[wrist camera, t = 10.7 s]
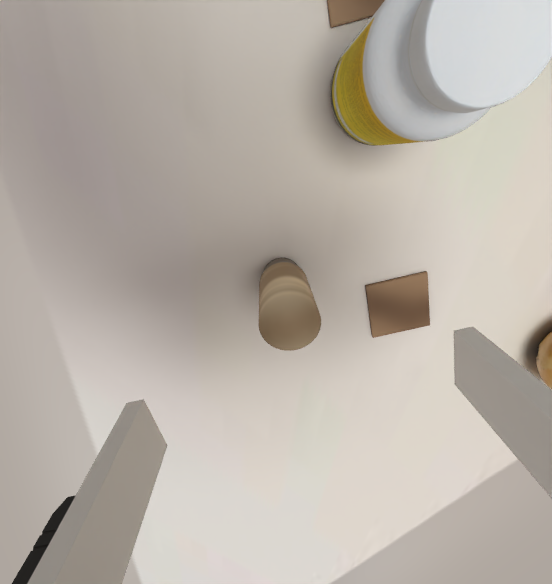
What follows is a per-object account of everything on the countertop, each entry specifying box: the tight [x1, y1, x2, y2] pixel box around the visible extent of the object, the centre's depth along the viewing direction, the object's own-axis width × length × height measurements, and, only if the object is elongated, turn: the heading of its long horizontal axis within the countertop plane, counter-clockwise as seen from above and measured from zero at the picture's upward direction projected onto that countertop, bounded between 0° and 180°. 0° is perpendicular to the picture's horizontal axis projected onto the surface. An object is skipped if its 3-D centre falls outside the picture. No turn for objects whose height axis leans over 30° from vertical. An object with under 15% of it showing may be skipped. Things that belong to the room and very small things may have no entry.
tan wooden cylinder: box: [259, 258, 321, 350], centre depth 22 cm, size 4×4×8 cm
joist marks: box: [327, 0, 430, 338], centre depth 23 cm, size 28×5×1 cm, turn 14°
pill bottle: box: [330, 0, 552, 145], centre depth 16 cm, size 6×6×12 cm
